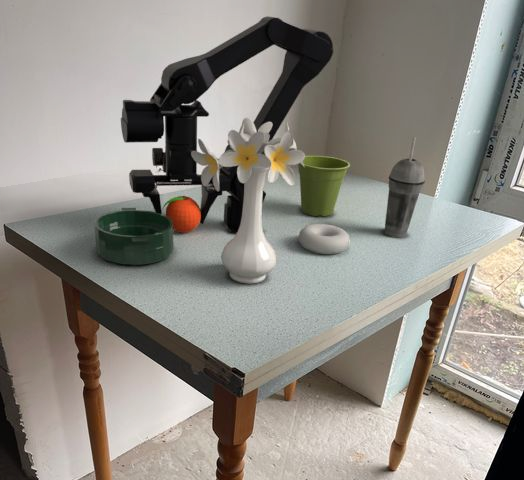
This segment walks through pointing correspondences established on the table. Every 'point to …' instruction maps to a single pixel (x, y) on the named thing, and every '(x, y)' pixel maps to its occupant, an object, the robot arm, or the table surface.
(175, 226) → the clementine
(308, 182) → the plant pot
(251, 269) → the flower vase
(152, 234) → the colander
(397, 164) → the beverage cup
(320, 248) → the donut
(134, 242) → the colander handles
